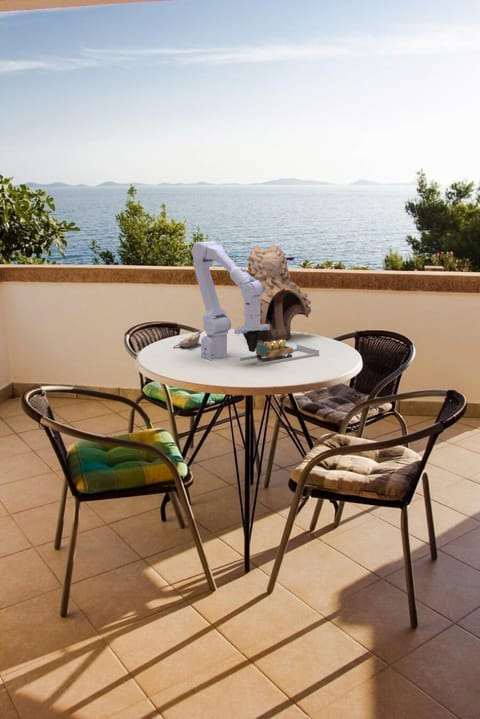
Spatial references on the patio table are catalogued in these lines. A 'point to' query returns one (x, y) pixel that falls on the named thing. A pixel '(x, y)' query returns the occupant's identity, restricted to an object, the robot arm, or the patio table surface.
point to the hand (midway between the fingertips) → (252, 351)
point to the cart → (272, 352)
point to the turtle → (190, 340)
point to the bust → (276, 292)
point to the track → (305, 349)
